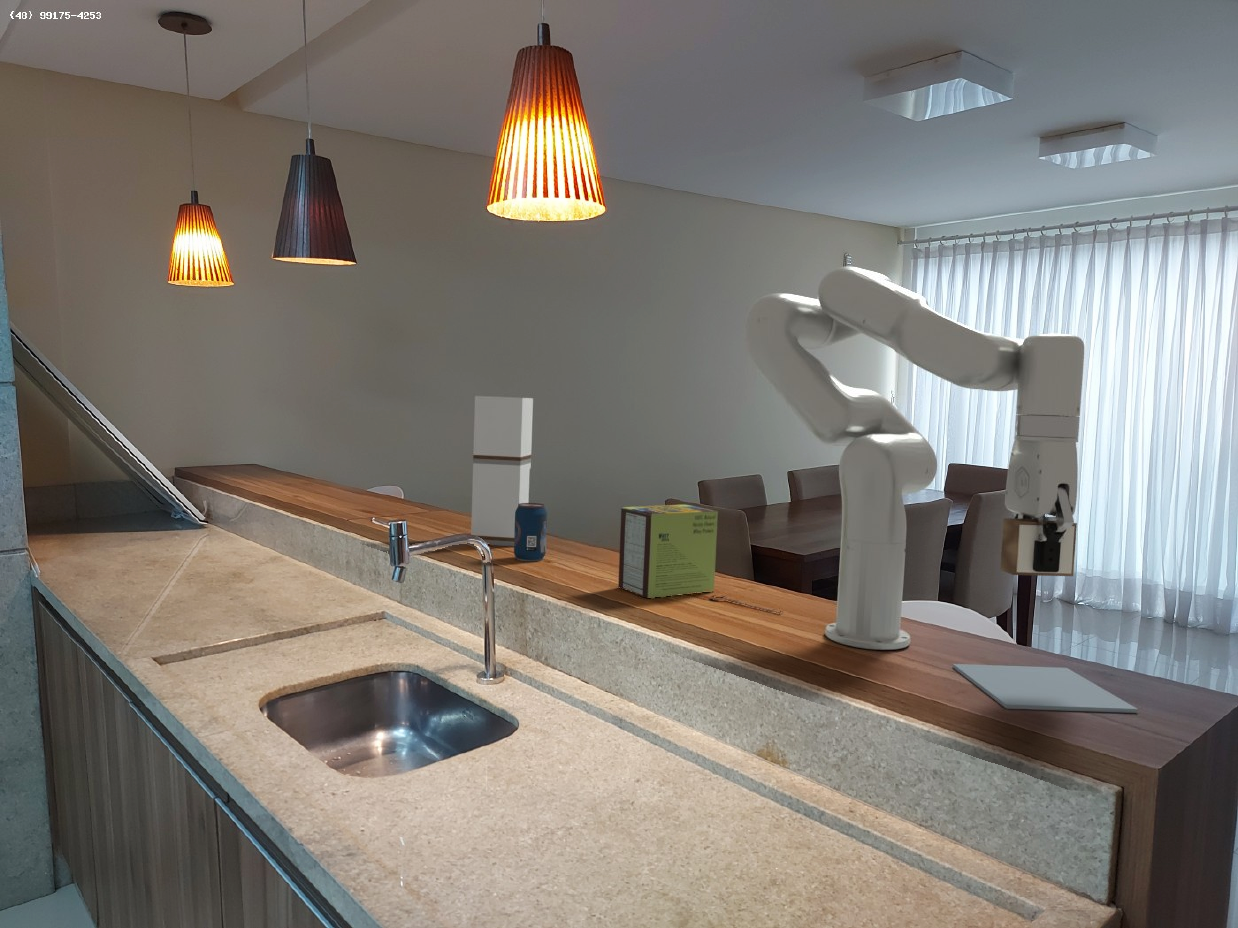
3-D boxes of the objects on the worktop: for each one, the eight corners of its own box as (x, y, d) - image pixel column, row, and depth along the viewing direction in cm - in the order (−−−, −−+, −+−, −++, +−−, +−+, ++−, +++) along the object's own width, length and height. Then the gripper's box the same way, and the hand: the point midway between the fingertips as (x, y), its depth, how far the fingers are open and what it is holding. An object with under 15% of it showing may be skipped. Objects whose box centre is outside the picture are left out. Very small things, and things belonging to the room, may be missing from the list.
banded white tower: (528, 539, 212) (533, 398, 209) (517, 546, 202) (522, 397, 199) (483, 536, 213) (487, 396, 211) (470, 543, 203) (475, 395, 200)
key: (793, 615, 148) (725, 598, 159) (793, 610, 148) (726, 593, 159) (773, 617, 144) (705, 599, 155) (774, 612, 144) (705, 594, 155)
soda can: (512, 555, 189) (514, 502, 189) (543, 556, 191) (545, 502, 190) (514, 561, 183) (516, 506, 182) (546, 562, 184) (548, 506, 183)
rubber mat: (952, 667, 119) (952, 663, 119) (1066, 671, 119) (1066, 667, 119) (1006, 708, 103) (1006, 704, 103) (1137, 712, 103) (1137, 708, 103)
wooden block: (1000, 569, 115) (1003, 518, 115) (1058, 571, 115) (1062, 519, 115) (1014, 575, 111) (1017, 521, 111) (1074, 576, 112) (1077, 523, 111)
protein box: (715, 592, 161) (719, 510, 160) (647, 599, 153) (651, 513, 152) (682, 581, 170) (685, 503, 169) (616, 587, 162) (619, 506, 160)
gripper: (988, 427, 120) (980, 556, 121) (1052, 430, 104) (1041, 580, 105) (1041, 429, 120) (1032, 558, 122) (1112, 433, 104) (1101, 582, 105)
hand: (1036, 566), depth 113 cm, fingers closed on wooden block, 3 cm apart
